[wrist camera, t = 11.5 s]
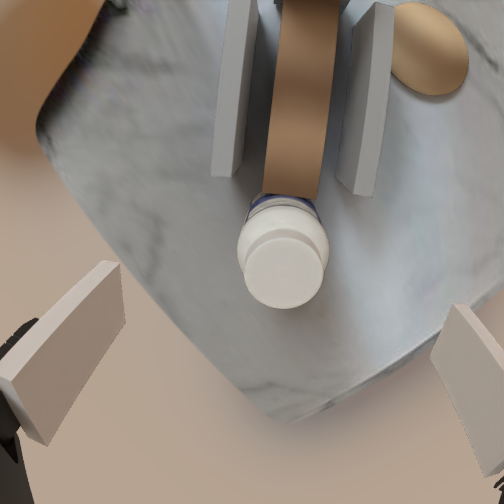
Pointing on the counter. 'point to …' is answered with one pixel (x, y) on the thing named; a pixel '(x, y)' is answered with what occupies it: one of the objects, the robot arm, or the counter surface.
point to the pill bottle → (282, 250)
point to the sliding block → (301, 96)
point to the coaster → (427, 50)
